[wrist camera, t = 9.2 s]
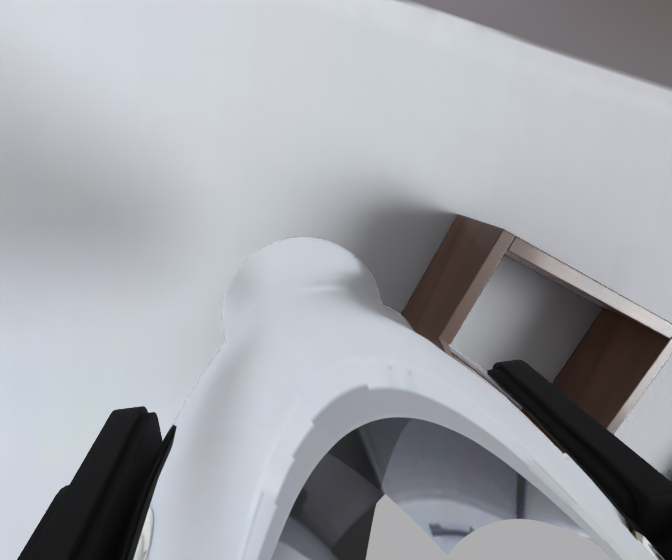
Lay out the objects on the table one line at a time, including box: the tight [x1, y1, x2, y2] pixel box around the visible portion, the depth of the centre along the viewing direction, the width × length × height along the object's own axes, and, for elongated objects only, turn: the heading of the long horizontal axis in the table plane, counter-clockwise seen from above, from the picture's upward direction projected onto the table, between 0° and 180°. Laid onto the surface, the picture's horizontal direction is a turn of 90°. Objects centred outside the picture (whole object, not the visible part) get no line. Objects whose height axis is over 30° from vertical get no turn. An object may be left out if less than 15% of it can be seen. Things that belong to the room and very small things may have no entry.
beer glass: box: [114, 237, 668, 560], centre depth 9 cm, size 7×7×15 cm
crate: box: [402, 214, 672, 434], centre depth 26 cm, size 14×14×5 cm
